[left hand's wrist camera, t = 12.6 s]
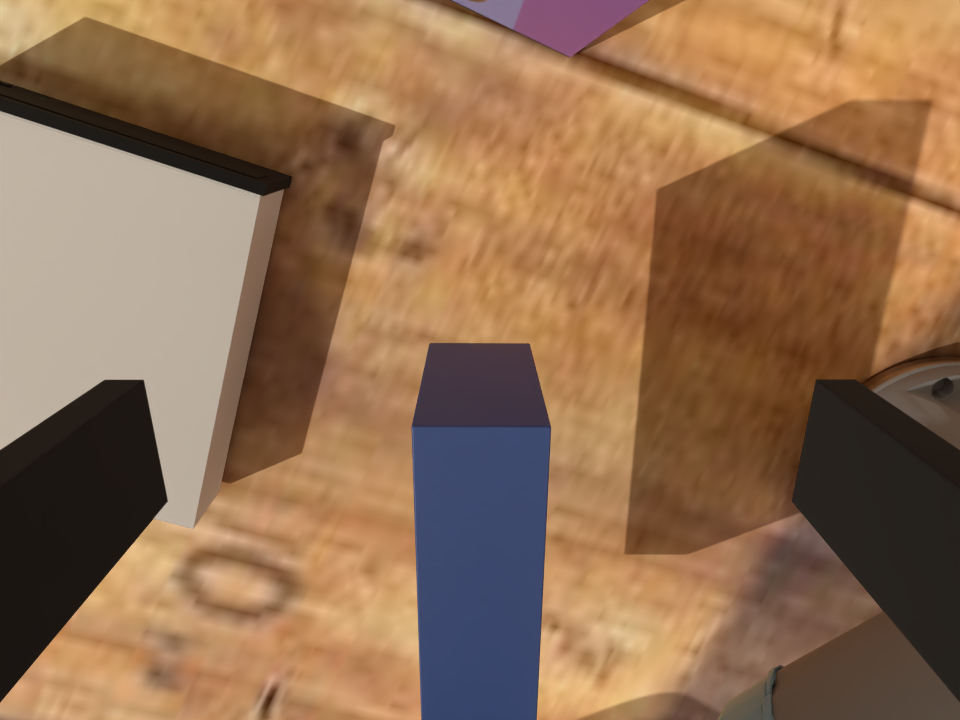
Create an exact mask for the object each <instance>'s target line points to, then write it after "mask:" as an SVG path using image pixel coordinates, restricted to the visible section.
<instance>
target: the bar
mask: <svg viewBox="0 0 960 720" xmlns="http://www.w3.org/2000/svg"><path fill="white" fill-rule="evenodd" d="M550 438H551V426H550V422H549V418H548V414H547V410H546V406H545V402H544V398H543V394H542V390H541V387H540V383H539V379H538V375H537V371H536V367H535V363H534V359H533V355H532V351H531V348H530V344H499V343H430V344H429V349H428V353H427V358H426V363H425V367H424V372H423V377H422V381H421V386H420V391H419V395H418V400H417V404H416V409H415V414H414V418H413V423H412V453H413V483H414V513H415V543H416V572H417V602H418V632H419V662H420V691H421V720H537V700H538V680H539V660H540V640H541V620H542V599H543V579H544V559H545V539H546V519H547V499H548V479H549V458H550Z"/></svg>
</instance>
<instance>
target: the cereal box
mask: <svg viewBox="0 0 960 720" xmlns="http://www.w3.org/2000/svg"><path fill="white" fill-rule="evenodd" d="M451 1H453V2H455V3H457V4H460V5H462V6H464V7H466V8H468V9H470V10H472V11H474V12H476V13H478V14H480V15H482V16H484V17H486V18H489V19H491V20H493V21H495V22H497V23H499V24H501V25H503V26H505V27H507V28H509V29H511V30H513V31H516V32H518V33H520V34H522V35H524V36H526V37H528V38H530V39H532V40H534V41H536V42H538V43H540V44H543V45H545V46H547V47H549V48H551V49H553V50H555V51H557V52H559V53H561V54H563V55H565V56H567V57H569V58H570V57H571V56H573V55H574V54H575V53H577V52H578V51H580V50H581V49H582V48H584V47H585V46H587V45H588V44H589V43H591V42H592V41H593V40H595V39H596V38H598V37H599V36H600V35H602V34H603V33H605V32H606V31H607V30H609V29H610V28H611V27H613V26H614V25H616V24H617V23H618V22H620V21H621V20H623V19H624V18H625V17H627V16H628V15H630V14H631V13H632V12H634V11H635V10H636V9H638V8H639V7H641V6H642V5H643V4H645V3H646V2H648V1H649V0H451Z"/></svg>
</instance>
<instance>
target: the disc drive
mask: <svg viewBox="0 0 960 720" xmlns="http://www.w3.org/2000/svg"><path fill="white" fill-rule="evenodd" d="M291 178H292V177H291V176H288V175H285V174H282V173H279V172H276V171H273V170H270V169H267V168H264V167H261V166H258V165H255V164H252V163H249V162H246V161H243V160H240V159H236V158H233V157H230V156H227V155H224V154H221V153H218V152H215V151H212V150H209V149H206V148H203V147H200V146H197V145H194V144H191V143H188V142H185V141H182V140H179V139H176V138H173V137H170V136H167V135H164V134H160V133H157V132H154V131H151V130H148V129H145V128H142V127H139V126H136V125H133V124H130V123H127V122H124V121H121V120H118V119H115V118H112V117H109V116H106V115H103V114H100V113H97V112H94V111H91V110H87V109H84V108H81V107H78V106H75V105H72V104H69V103H66V102H63V101H60V100H57V99H54V98H51V97H48V96H45V95H42V94H39V93H36V92H33V91H30V90H27V89H24V88H21V87H18V86H14V85H11V84H8V83H5V82H2V81H0V450H1V449H2V448H4V447H5V446H7V445H8V444H10V443H11V442H13V441H14V440H16V439H17V438H19V437H20V436H22V435H23V434H25V433H26V432H28V431H29V430H31V429H32V428H34V427H35V426H37V425H38V424H40V423H41V422H42V421H44V420H45V419H47V418H48V417H50V416H51V415H53V414H54V413H56V412H57V411H59V410H60V409H62V408H63V407H65V406H66V405H68V404H69V403H71V402H72V401H74V400H75V399H77V398H78V397H80V396H81V395H83V394H84V393H86V392H87V391H89V390H90V389H92V388H93V387H95V386H96V385H97V384H99V383H100V382H102V381H103V380H144V383H145V388H146V393H147V398H148V403H149V408H150V413H151V418H152V423H153V428H154V433H155V438H156V443H157V448H158V453H159V458H160V463H161V468H162V473H163V478H164V483H165V488H166V493H167V498H168V502H167V503H166V504H165V505H164V507H163V508H162V509H161V510H160V511H159V513H158V514H157V515H156V516H155V517H154V519H157V520H160V521H164V522H168V523H172V524H176V525H180V526H184V527H188V528H191V529H194V527H195V526H196V524H197V523H198V521H199V520H200V518H201V517H202V516H203V514H204V513H205V511H206V510H207V508H208V507H209V505H210V504H211V503H212V501H213V500H214V498H215V497H216V495H217V494H218V492H219V491H220V487H221V482H222V477H223V473H224V468H225V463H226V459H227V454H228V449H229V445H230V440H231V435H232V431H233V426H234V421H235V417H236V412H237V407H238V403H239V398H240V393H241V389H242V384H243V379H244V375H245V370H246V365H247V361H248V356H249V351H250V346H251V342H252V337H253V332H254V328H255V323H256V318H257V314H258V309H259V304H260V300H261V295H262V290H263V286H264V281H265V276H266V272H267V267H268V262H269V258H270V253H271V248H272V244H273V239H274V234H275V230H276V225H277V220H278V216H279V211H280V206H281V201H282V197H283V192H284V189H286V188H289V187H290V183H291Z"/></svg>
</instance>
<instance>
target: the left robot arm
mask: <svg viewBox="0 0 960 720" xmlns="http://www.w3.org/2000/svg"><path fill="white" fill-rule="evenodd" d="M167 502H168V498H167V493H166V488H165V483H164V478H163V473H162V468H161V463H160V458H159V453H158V448H157V443H156V438H155V433H154V428H153V423H152V418H151V413H150V408H149V403H148V398H147V393H146V388H145V383H144V380H103V381H102V382H100V383H99V384H97V385H96V386H95V387H93V388H92V389H90V390H89V391H87V392H86V393H84V394H83V395H81V396H80V397H78V398H77V399H75V400H74V401H72V402H71V403H69V404H68V405H66V406H65V407H63V408H62V409H60V410H59V411H57V412H56V413H54V414H53V415H51V416H50V417H48V418H47V419H45V420H44V421H42V422H41V423H40V424H38V425H37V426H35V427H34V428H32V429H31V430H29V431H28V432H26V433H25V434H23V435H22V436H20V437H19V438H17V439H16V440H14V441H13V442H11V443H10V444H8V445H7V446H5V447H4V448H2V449H1V450H0V702H1V701H2V700H3V699H4V697H5V696H6V695H7V694H8V693H9V691H10V690H11V689H12V688H13V687H14V685H15V684H16V683H17V682H18V681H19V679H20V678H21V677H22V676H23V675H24V673H25V672H26V671H27V670H28V669H29V667H30V666H31V665H32V664H33V663H34V661H35V660H36V659H37V658H38V657H39V655H40V654H41V653H42V652H43V651H44V649H45V648H46V647H47V646H48V645H49V643H50V642H51V641H52V640H53V639H54V637H55V636H56V635H57V634H58V633H59V631H60V630H61V629H62V628H63V627H64V625H65V624H66V623H67V622H68V621H69V619H70V618H71V617H72V616H73V615H74V613H75V612H76V611H77V610H78V609H79V607H80V606H81V605H82V604H83V603H84V601H85V600H86V599H87V598H88V597H89V595H90V594H91V593H92V592H93V591H94V589H95V588H96V587H97V586H98V585H99V583H100V582H101V581H102V580H103V579H104V577H105V576H106V575H107V574H108V573H109V571H110V570H111V569H112V568H113V567H114V565H115V564H116V563H117V562H118V561H119V559H120V558H121V557H122V556H123V555H124V553H125V552H126V551H127V550H128V549H129V547H130V546H131V545H132V544H133V543H134V541H135V540H136V539H137V538H138V537H139V535H140V534H141V533H142V532H143V531H144V529H145V528H146V527H147V526H148V525H149V523H150V522H151V521H152V520H153V519H154V517H155V516H156V515H157V514H158V513H159V511H160V510H161V509H162V508H163V507H164V505H165V504H166V503H167ZM792 502H793V503H794V504H795V505H796V507H797V508H798V509H799V510H800V511H801V513H802V514H803V515H804V516H805V517H806V519H807V520H808V521H809V522H810V523H811V525H812V526H813V527H814V528H815V529H816V531H817V532H818V533H819V534H820V535H821V537H822V538H823V539H824V540H825V541H826V543H827V544H828V545H829V546H830V547H831V549H832V550H833V551H834V552H835V553H836V555H837V556H838V557H839V558H840V559H841V561H842V562H843V563H844V564H845V565H846V567H847V568H848V569H849V570H850V571H851V573H852V574H853V575H854V576H855V577H856V579H857V580H858V581H859V582H860V583H861V585H862V586H863V587H864V588H865V589H866V591H867V592H868V593H869V594H870V595H871V597H872V598H873V599H874V600H875V601H876V603H877V604H878V605H879V606H880V607H881V609H882V610H883V612H882V613H880V614H878V615H876V616H875V617H873V618H871V619H869V620H867V621H866V622H864V623H862V624H860V625H858V626H857V627H855V628H853V629H851V630H849V631H848V632H846V633H844V634H842V635H840V636H839V637H837V638H835V639H833V640H832V641H830V642H828V643H826V644H824V645H823V646H821V647H819V648H817V649H815V650H814V651H812V652H810V653H808V654H806V655H805V656H803V657H801V658H799V659H797V660H796V661H794V662H792V663H790V664H789V665H787V666H785V667H783V666H781V665H779V666H777V667H774V668H773V669H771V670H770V671H769V673H768V675H767V677H766V678H764V679H763V680H761V681H760V682H758V683H757V684H755V685H754V686H752V687H750V688H749V689H747V690H746V691H744V692H743V693H741V694H740V695H738V696H736V697H735V698H733V699H732V700H731V701H729V702H728V703H727V704H726V706H725V707H724V708H723V710H722V711H721V713H720V715H719V718H718V720H960V357H953V356H940V357H930V358H924V359H919V360H914V361H911V362H907V363H904V364H901V365H898V366H896V367H893V368H891V369H889V370H886V371H884V372H882V373H880V374H878V375H877V376H875V377H873V378H871V379H870V380H868V381H867V382H865V383H864V384H861V383H860V382H858V381H857V380H816V383H815V388H814V393H813V398H812V403H811V408H810V413H809V418H808V423H807V428H806V433H805V438H804V443H803V448H802V453H801V458H800V463H799V468H798V473H797V478H796V483H795V488H794V493H793V498H792Z"/></svg>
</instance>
